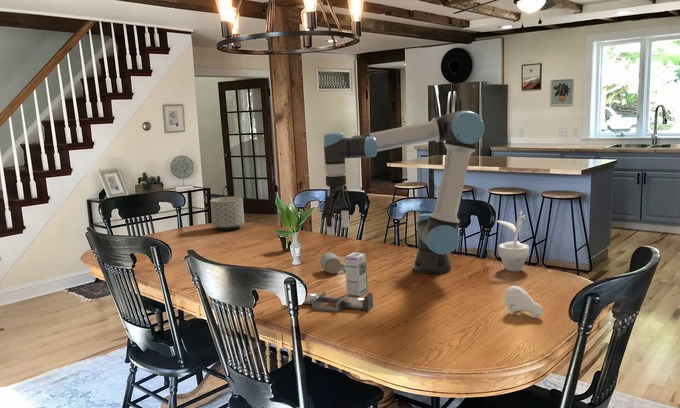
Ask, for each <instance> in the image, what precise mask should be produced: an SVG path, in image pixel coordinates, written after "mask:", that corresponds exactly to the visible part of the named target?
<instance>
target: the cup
mask: <svg viewBox="0 0 680 408" xmlns="http://www.w3.org/2000/svg"><path fill="white" fill-rule="evenodd" d="M277 237H278V238H279V241H280V244H281V248H282V252H284V253H287V252H288V253H289V252H291V251H290V245H291V241H289V243H288V248H287V249H286V238H285V237H280V236H279V235H278V234H277Z"/></svg>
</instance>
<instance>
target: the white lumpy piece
mask: <svg viewBox="0 0 680 408" xmlns="http://www.w3.org/2000/svg"><path fill="white" fill-rule="evenodd" d="M503 299H504V303H505V305H506V308H507V311H508V313H509V315H511V316H513V315H514V313H515V312H520V311H521V312H526V313H530V315H531V316H530V317H531V318H532V319H535V318H536V319H539V318H540V316H542V315H543V312H544V309H543V307H542V305H540V304H539V303H537V302H536V301H534V299H533V298H532V297H531V296H530V295H529V293H528V292H527V291H526V290H525V289H524V288H522V287H520V286H518V285H511V286H510V287H508V288H507V289H506V290H505V295H504V297H503Z"/></svg>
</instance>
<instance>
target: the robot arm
mask: <svg viewBox="0 0 680 408" xmlns="http://www.w3.org/2000/svg"><path fill="white" fill-rule="evenodd" d="M484 134H485V124H484V120H483V119H482V117H481V116H480V115H479V113H476V112H473V111H470V110H461V111H459V110H457V111H453V112H450V113H447V114H445V115H441V116H436V117H432V119H431V120H430V121H426V122H420V123H415V124H411V125H406V126H405V125H404V126H400V127H396V128H390V129H385V130H381V131H375V132H371V133H365V134H360V135H353V136H352V137H345V135H344V133H343V132H330V133H326V134H324V136H323V151H324V152H323V153H324V169H325V170H324V171H325V175H326V176H325V185H326V187H329V190H328V189H327V190H325V198H324V205H323V211H322V217H323V218H325V221H326V235H327V236H335V218H334V217H333V215H334V212H335V209H336V205H337V203H339V205H340V206H339V207H340V208H341V213H340V214H341V228H350V217H349V216H350V215H349V211H351V210H352V205H351V202H350V197H349V194H348V193H349V192H348V188H347V177H346V173H347V172H346V171H347V170H346V169H347V168H346V159H359V158H360V159H361V158H364V159H365V158H374V157H376V156H377V155H378V154H377V153H378V152H382V151H386V150H392V149H396V148H400V147H401V148H402V147H407V146H411V145H418V144H422V143H427V142H432V141H434V142H437V143H439V142H444V146H445V147H446V149H447V151H446V156H445V161H444V165H443V169H442V175H441V179H440V183H439V189H438V193H437V197H436V203H435V207H434V211H433V212H432V213H422V214H418V215H417V218H416V226H417V227H416V228H417V229H416V230H417V231H416V232H417V233H416V235H417V252H416V256H415V259H414V261H413V262H414V263H413V269H414V270H415V271H416V272H418V273H421V274H432V275H434V274H444V273H448V272H450V271H451V270H452V262H451V259H450V256H449V254H451V253H453V252H454V251H456V249H457V248H458V245H459V243H460V235H459V227H460V223H461V222H460V219H459V218H458V212H459V207H460V203H461V199H462V195H463V190H464V186H465V182H466V176H467V172H468V167H469V164H470V160H471V154H472V153H474V152H476V150H477V147H478V142H479V141H480V140H481V139H482V138H483V136H484Z"/></svg>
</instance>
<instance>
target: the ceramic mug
mask: <svg viewBox="0 0 680 408" xmlns="http://www.w3.org/2000/svg"><path fill="white" fill-rule="evenodd" d="M319 262H320V263H319V264H320V266H321V268H322V269H323V270H324V271H325V272H326V273H328V274H331V275H336V274H337V273H339V272H340V271H342V272H346V271H345V264H343V263H341V260H340V259H339V258H338V256H337V255H336V254H335V253H334V252H325V253H324V254H322V255H321V257H320V260H319Z"/></svg>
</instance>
